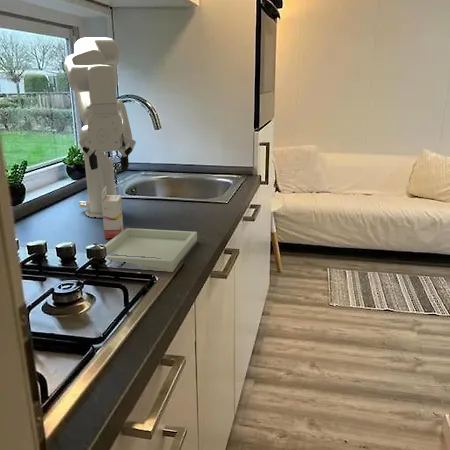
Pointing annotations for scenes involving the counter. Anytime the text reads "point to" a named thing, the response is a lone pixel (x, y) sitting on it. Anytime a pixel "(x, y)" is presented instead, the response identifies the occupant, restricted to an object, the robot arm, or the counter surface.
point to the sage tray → (151, 246)
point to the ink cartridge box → (112, 214)
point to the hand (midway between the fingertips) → (109, 169)
